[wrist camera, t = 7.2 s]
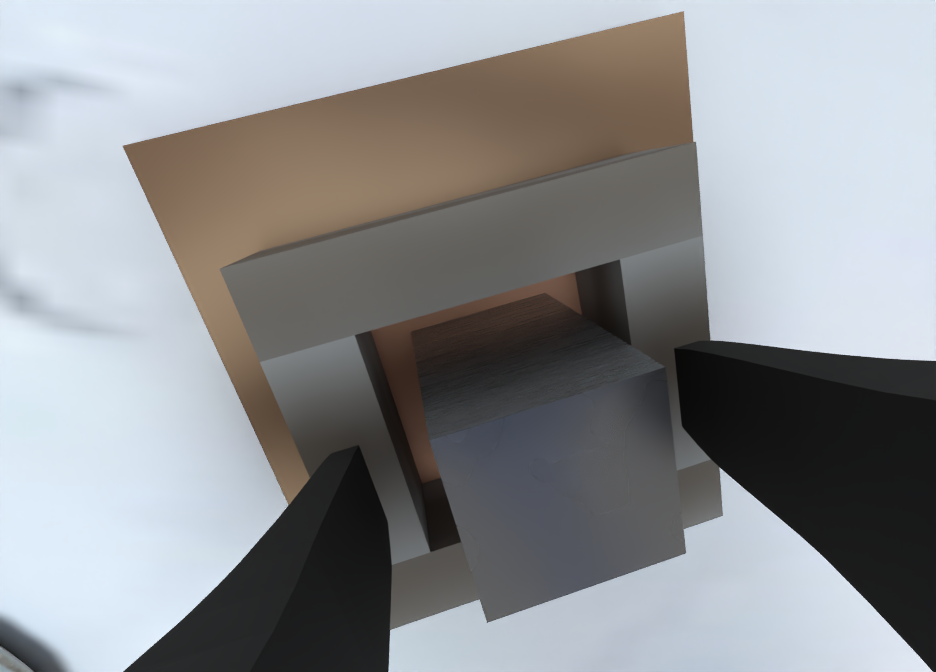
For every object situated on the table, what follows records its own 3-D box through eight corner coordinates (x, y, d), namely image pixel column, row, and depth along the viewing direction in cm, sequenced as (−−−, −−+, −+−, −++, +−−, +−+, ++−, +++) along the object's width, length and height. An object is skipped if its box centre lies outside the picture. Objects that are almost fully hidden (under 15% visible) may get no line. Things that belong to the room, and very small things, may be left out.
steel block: (568, 412, 14) (686, 553, 9) (446, 450, 14) (486, 622, 8) (545, 292, 13) (665, 367, 7) (410, 331, 13) (428, 440, 7)
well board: (705, 495, 18) (787, 572, 14) (350, 615, 16) (340, 732, 13) (665, 22, 12) (779, -49, 9) (140, 149, 11) (24, 127, 8)
